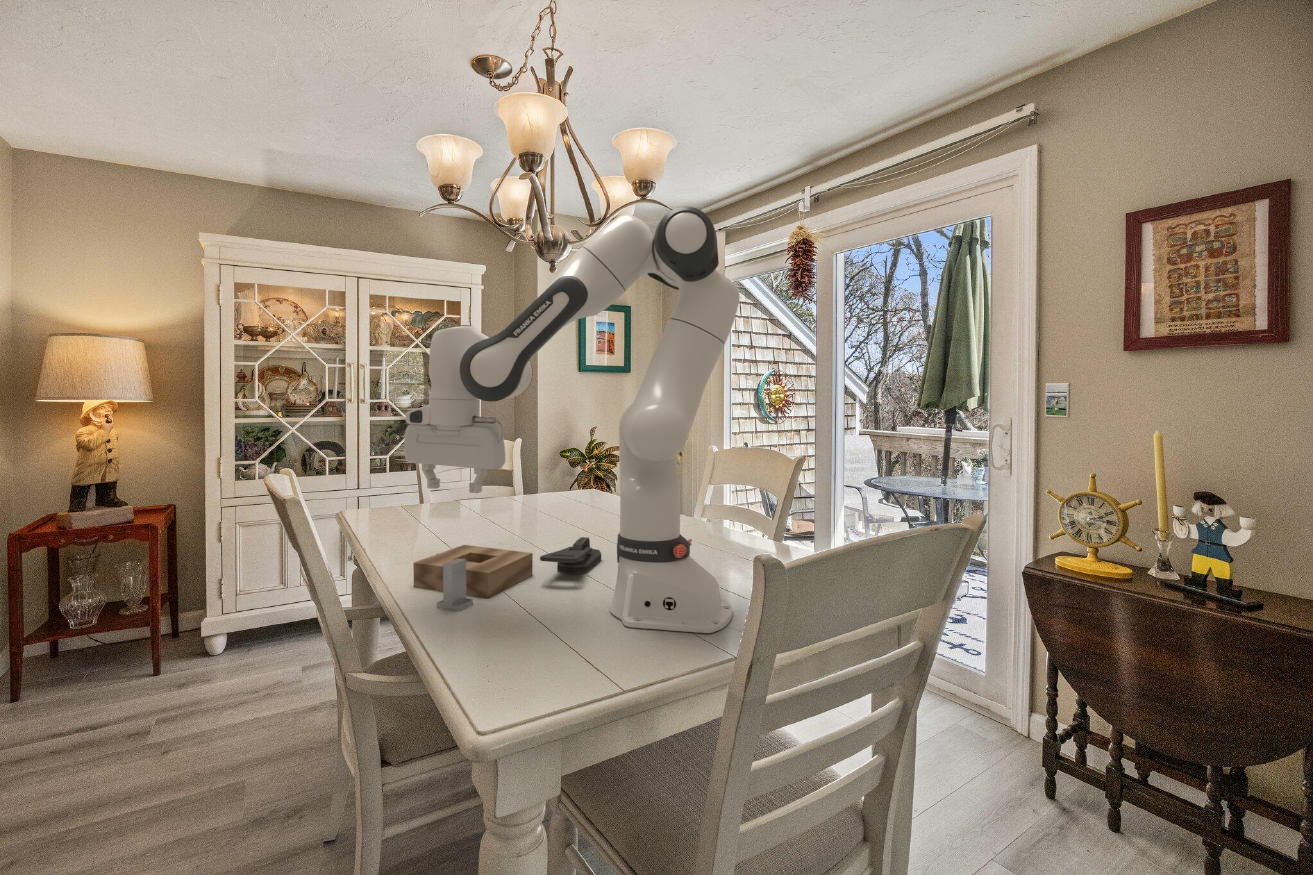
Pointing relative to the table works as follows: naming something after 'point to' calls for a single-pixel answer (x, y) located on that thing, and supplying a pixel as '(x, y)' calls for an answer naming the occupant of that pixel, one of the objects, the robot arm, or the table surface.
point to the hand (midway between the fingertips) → (454, 490)
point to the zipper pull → (575, 558)
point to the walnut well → (477, 569)
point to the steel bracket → (454, 586)
